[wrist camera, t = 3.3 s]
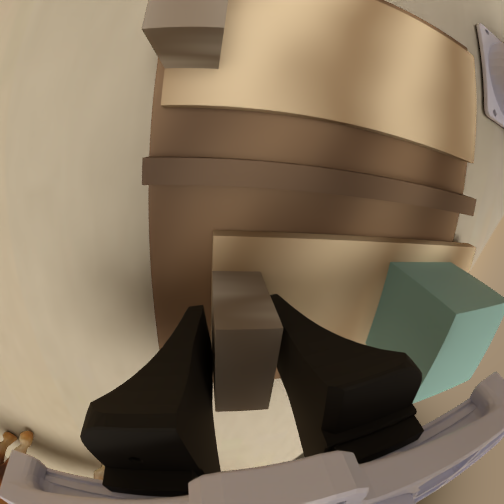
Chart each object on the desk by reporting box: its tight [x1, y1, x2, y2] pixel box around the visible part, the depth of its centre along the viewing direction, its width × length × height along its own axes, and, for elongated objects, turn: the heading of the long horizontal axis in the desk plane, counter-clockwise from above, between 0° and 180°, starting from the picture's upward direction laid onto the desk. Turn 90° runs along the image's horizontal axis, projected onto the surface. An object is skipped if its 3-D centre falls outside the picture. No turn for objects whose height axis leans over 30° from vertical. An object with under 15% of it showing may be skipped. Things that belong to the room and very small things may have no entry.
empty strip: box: [142, 0, 476, 163], centre depth 7 cm, size 16×7×5 cm, turn 86°
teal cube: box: [365, 262, 504, 404], centre depth 12 cm, size 5×5×5 cm
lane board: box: [142, 0, 476, 379], centre depth 12 cm, size 17×22×2 cm
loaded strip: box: [211, 230, 476, 412], centre depth 12 cm, size 16×7×5 cm, turn 86°
